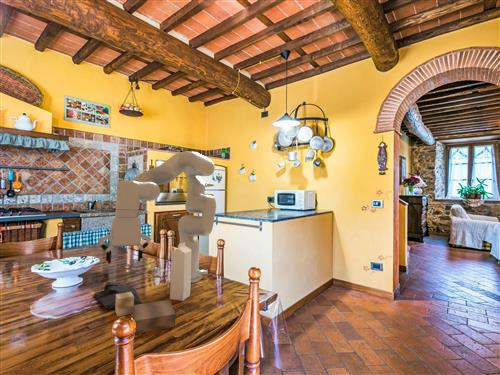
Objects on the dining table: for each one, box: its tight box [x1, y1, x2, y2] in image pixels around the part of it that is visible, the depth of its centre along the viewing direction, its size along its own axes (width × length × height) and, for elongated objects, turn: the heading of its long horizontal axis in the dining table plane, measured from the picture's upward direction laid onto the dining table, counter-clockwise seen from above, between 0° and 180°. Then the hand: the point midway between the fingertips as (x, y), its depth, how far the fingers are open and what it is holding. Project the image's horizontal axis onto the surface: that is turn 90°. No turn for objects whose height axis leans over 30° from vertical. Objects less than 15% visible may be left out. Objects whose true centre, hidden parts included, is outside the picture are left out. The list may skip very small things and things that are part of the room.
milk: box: [169, 242, 192, 302], centre depth 106 cm, size 6×6×22 cm
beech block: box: [114, 292, 134, 317], centre depth 92 cm, size 5×5×6 cm
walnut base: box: [132, 299, 177, 335], centre depth 85 cm, size 12×12×4 cm
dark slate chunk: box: [94, 281, 143, 310], centre depth 103 cm, size 15×22×5 cm
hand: (124, 261), depth 93 cm, fingers open, 9 cm apart
